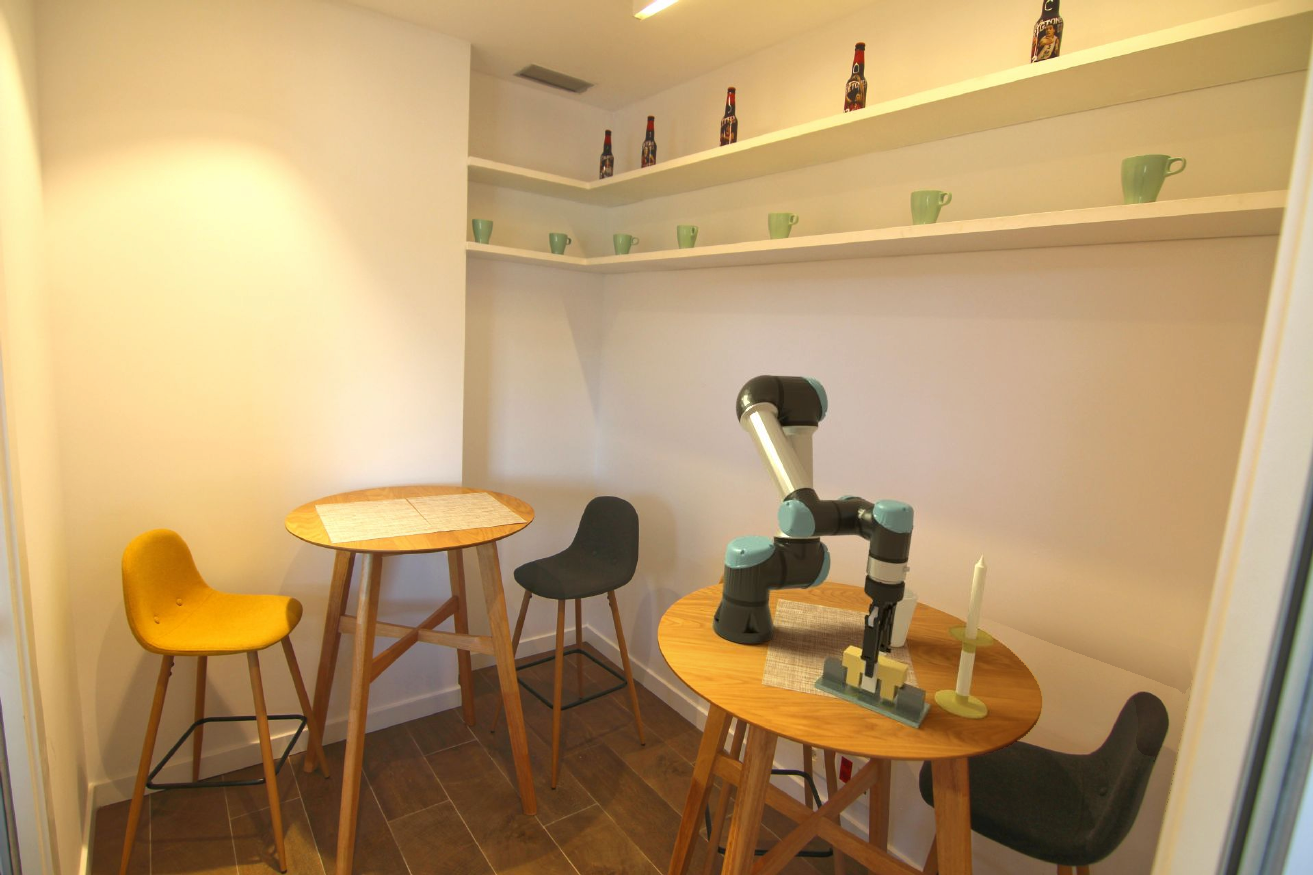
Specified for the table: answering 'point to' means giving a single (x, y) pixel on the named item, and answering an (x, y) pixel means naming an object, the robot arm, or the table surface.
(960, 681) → the candle
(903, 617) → the foam cup
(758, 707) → the table surface
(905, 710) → the rail
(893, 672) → the yellow arch-shaped block
